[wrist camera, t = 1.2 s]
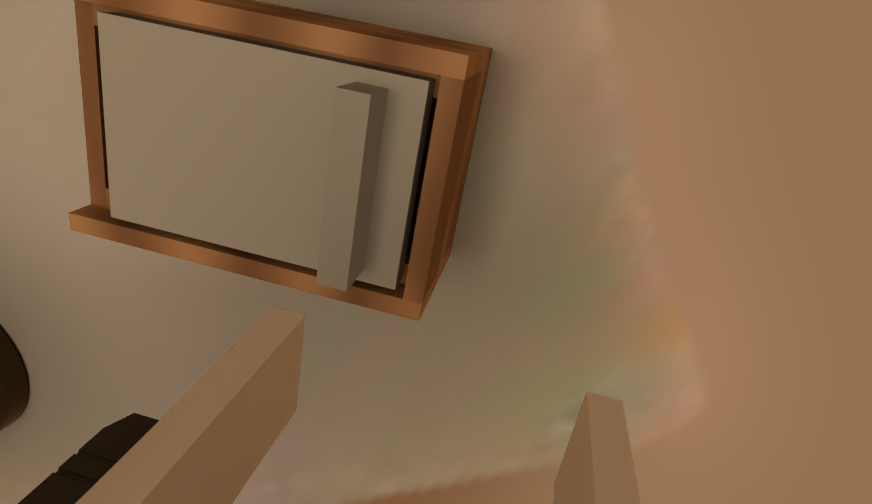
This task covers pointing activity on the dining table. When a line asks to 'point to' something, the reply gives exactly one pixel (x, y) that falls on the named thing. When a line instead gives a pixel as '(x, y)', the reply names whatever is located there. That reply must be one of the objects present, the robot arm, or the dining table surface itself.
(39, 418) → the dining table surface
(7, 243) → the dining table surface
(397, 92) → the slate lid
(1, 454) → the dining table surface
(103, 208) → the walnut box
